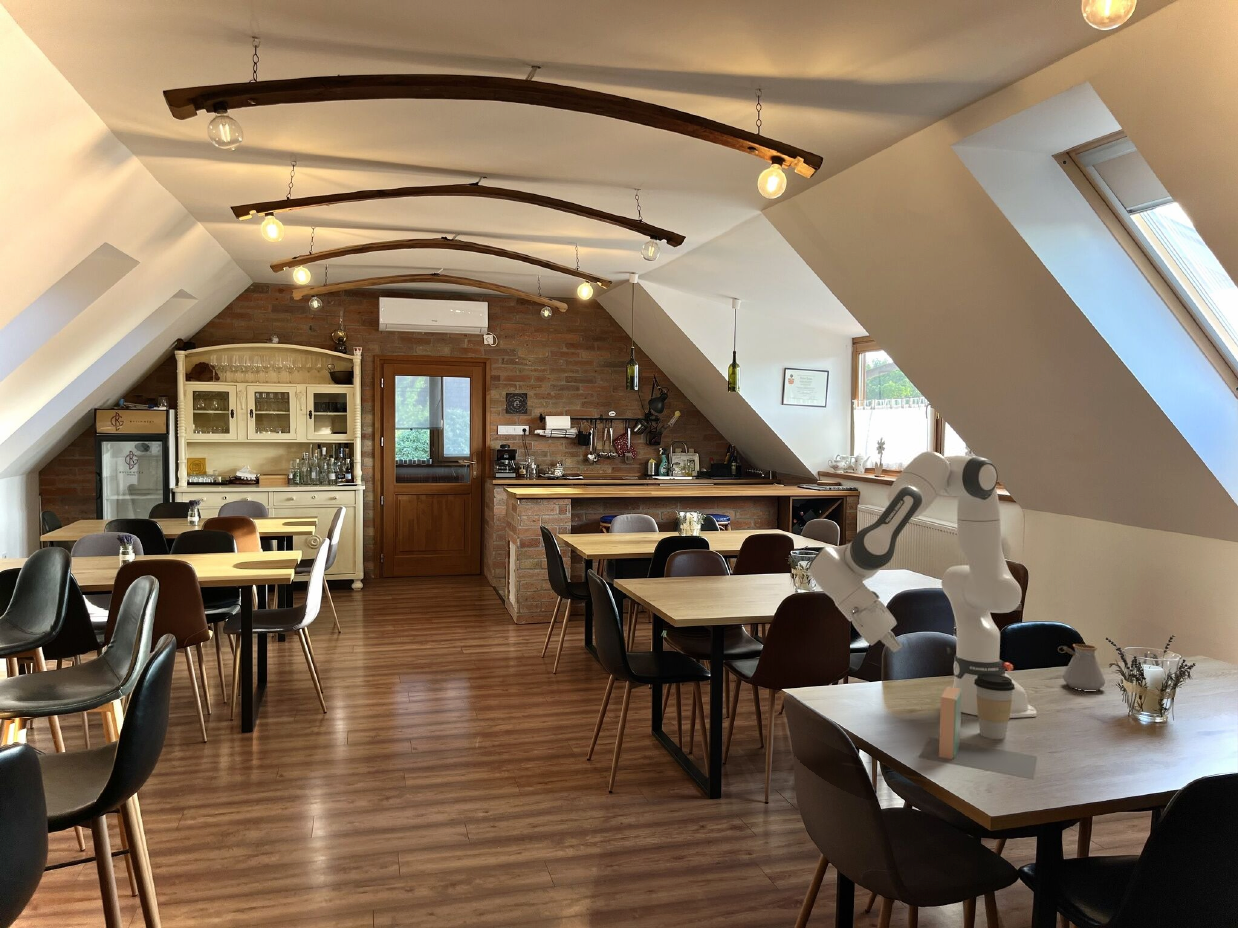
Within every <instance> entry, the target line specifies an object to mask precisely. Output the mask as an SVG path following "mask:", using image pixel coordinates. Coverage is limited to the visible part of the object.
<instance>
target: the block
mask: <svg viewBox="0 0 1238 928" xmlns="http://www.w3.org/2000/svg"><path fill="white" fill-rule="evenodd" d="M961 697H962V690H960V688H954V687H953V686H947V687H946V688H945V689H944V691H943V693H942V695H941V696H940V714H939V739H940V740H939V757H943V758H949V759H953V758H955V755H956V753H957V751H958V748H959V746H960V743H961V724H962V723H961V720H962V719H961V717H962V712H961Z"/></svg>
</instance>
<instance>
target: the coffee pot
mask: <svg viewBox="0 0 1238 928" xmlns="http://www.w3.org/2000/svg"><path fill="white" fill-rule="evenodd" d="M1072 647H1073V648H1074V651H1073V650H1072V649H1071V648H1068V646H1065V645H1061V646H1059V647H1058V648H1057V651H1058V652H1060V653H1061V654H1062V653H1063V654H1064V653H1066V652H1067V653H1068V654H1070V655H1072V657H1071V660H1070V662H1069V663H1068V665H1067V667H1066V669H1065V670H1064V672H1063V674H1062V679H1063V681H1064V682H1065V683H1066V685H1068V687H1069V686H1070V687H1073V688H1077V689H1081V690H1100V689H1102V688H1103V687H1104V686H1105V684H1106V679H1105V677H1104V674H1103V672H1102V670H1101V667H1100V665H1099V662H1098V661H1097V658H1096V655H1095V653H1096V650H1097V649H1098V647H1097V646H1095V645H1092V644H1091V645H1090V644H1086V643H1085V644H1083V643H1072ZM1060 648H1062V649H1063V651H1060V650H1059V649H1060ZM1070 687H1069V688H1070Z"/></svg>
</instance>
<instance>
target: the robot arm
mask: <svg viewBox="0 0 1238 928" xmlns="http://www.w3.org/2000/svg"><path fill="white" fill-rule="evenodd" d="M998 477H999V475H998V471H997V467H996V466H995V464H994V463H993V461H991V460H990V459H988V458H984V457H983V456H982V457H981V456H968V455H951V456H943V455H942V454H941V453H939V452H936V451H933V450H932V451H929V450H927V451H923V452H921V453H920V454H918V455H917V456H916V457H914V459H912V460H911V461H910V462H909V463H908V464H907V465H906V466H905V468H903V470H902V471H901V472H900V473H899V474H898V475H897V477H896V478H895V480H894V481H893V483H892V485H891V487H890V489H889V491H888V493H887V501H888V505H887V506H886V508H885V509H884V510H883V511H882V512H881V514H880V516H879V517H878V518H877V519H876V521H875V522H873V523H872V524H870V525H868V526H866V527H864V528H862V529H860V530H859V531H857V533H855V535H854V536H853V539H852V540H851V541H850V543H847V544H844V545H839V546H824V547H822V548H821V549H820V550H818V552H817V553H816V554H815V555H814V556H813V558H812V559H811V561H810V562H809V564H808V571H809V573H810V576H811V577H812V578H813V580H814V581H815V583H816V584H817V585H818V586H819V587H820V589H821V590H822V591H823V592H824V594H826V596H828V597H829V598H831V600H833V602H834V604H835V607H837V608H838V610H839V611H840V612H841V613H842V614H843V615H844V616H845V618H846V619H847V620H848V621H849V622H851V623H852V625H853V627H854V628H855V629H856V631H857V632H858V634H860V636H861V637H862V638H863V640H864V641H865V642H866V643H867V644H869V645H870V646H874V645H875V644H876V643H877V642H878V641H880V642H881V643H882V644H884V645H885V646H887V647H888V648H889V649H890V651H892V652H893V653H896V652H898V651H899V650H900V649H901V648H902V644H901V643H900V641H898V639H897V638H896V636H895V634H894V632H893V631H892V629H893V628H894V627H896V625H897V624H898V622H897V620H896V618H895V617H894V615H893V614H892V613H891V612H890V610H889V609H888V608H887V606H886V605H885V604H884V603H883V602H882V601H881V600H879V599H880V598H881V597H880V595H879V594H878V592H876V591H874V590H871V589H870V588H869V587H868V586H867V585H866V584H865V582H864V581H866V580H869V579H871V578H873V577H874V576H875V575H876V574H877V573H878V572H879V571H880V570H881V569H882V568H883V567H885V566H887V564H889V563H890V562H891V560H892V558H893V557H894V554H895V549H896V543H897V539H898V537H899V536H900V535H901V533H902V532H903V530H904V529H905V527H906V526H907V524H908V523H909V522H910V520H911V519H915V518H919V517H920V516H921V515H922V514H923V513H925V512H926V511H927V510H928V509H929V507H931V505H932V504H933V503H934V502H935V500H936V499H937V498H938V496H939V495H941V496H946V497H954V498H956V499H957V510H956V512H957V513H956V517H957V518H956V524H957V525H956V526H957V528H956V529H957V531H956V532H957V546H958V549H959V551H960V552H961V553H962V554H963V555H964V557H965V560H966V562H967V565H963V564H962V565H953V566H950V567H949V568H947V569H946V570H945V572H944V573H943V575H942V577H941V588H942V592H943V593H944V594H945V595H946V597H947V598H948V600H949V602H950V606H951V609H952V613H953V615H954V621H955V626H956V627H955V628H956V650H955V651H956V654H955V655H954V660H953V662H954V663H953V675H954V681H953V685H952V687H954V688H960V690H962V697H961V713H964V714H968V715H973V716H977V717H978V711H977V696H976V694H977V687H976V685H975V684H974V682H975V679H976V678H977V676H978V675H979V674H985V673H988V674H998V675H1003V676H1006V677H1009V678H1011V677H1010V675H1008V674H1007V673H1006V671H1008V672H1011V671H1013V669H1014V665H1013V664H1011V663H1010V662H1005V661H1003V660H1001V659H1000V652H1001V649H1000V648H1001V647H1000V645H1001V632H1000V630H999V627H997V625H996V623H995V622H994V620H993V618H992V615H991V613H994V614H995V613H996V614H1004V613H1005V614H1006V613H1010V612H1013V611H1014V610H1016V609H1017V608H1018V607H1019V605H1020V603H1021V601H1022V596H1023V594H1022V593H1023V591H1022V588H1021V586H1020V584H1019V583H1018V581H1017V580H1016V579H1015V578H1014V576H1013V575H1012V573H1011V571H1010V570H1009V569H1010V568H1009V567H1008V564H1007V561H1006V558H1005V555H1004V551H1003V543H1002V532H1001V531H1002V530H1001V529H1002V528H1001V525H1002V524H1001V508H1000V500H999V494H998V491H997V488H996V487H997V484H998V479H999V478H998ZM1011 679H1012V683H1013V684H1014V687H1015V689H1014V690H1013V692H1012V703H1011V710H1010V717H1009V719H1012V718H1013V719H1014V718H1016V719H1017V718H1032V717H1034V718H1035V717H1037V714H1038V713H1037V710H1036V709H1035V708H1034V707H1033V706H1032V705H1030V704H1029V702H1028V701H1029V700H1028V696H1027V693H1026V690H1025V689H1024V688H1023V687H1022V686H1021V684H1019V683H1018V682H1016V681H1015V680H1014V679H1013V678H1011Z"/></svg>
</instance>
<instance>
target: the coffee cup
mask: <svg viewBox="0 0 1238 928" xmlns="http://www.w3.org/2000/svg"><path fill="white" fill-rule="evenodd" d="M1009 677H1010V676H1009ZM1009 677H1006V676H1003V675H998V674H988V673H985V674H979V675H978V676H977V678H976V679H975V682H974V684H975V685H976V687H977V694H976V696H977V711H978V716H977V717H978V726H979V727H978V728H979V735H980V736H982V737H984V738H986V739H987V738H988V739H991V740H1004V739H1006V737H1007V730H1008V724H1009V721H1010V718H1009V717H1010V710H1011V703H1012V692H1013V690H1014V689H1015V687H1014V684H1013V683H1012V679H1013V678H1012V679H1011V677H1010V678H1009Z"/></svg>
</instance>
